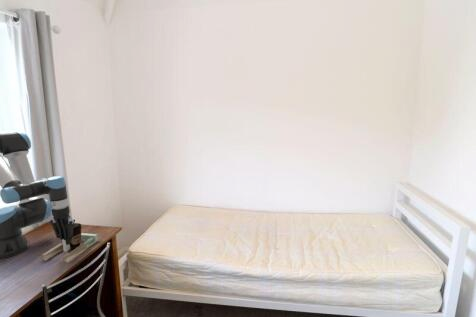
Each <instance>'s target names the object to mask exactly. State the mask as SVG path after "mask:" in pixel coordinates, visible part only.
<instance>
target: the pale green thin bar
mask: <svg viewBox="0 0 476 317" xmlns="http://www.w3.org/2000/svg"><path fill="white" fill-rule="evenodd" d="M62 251H64V249H63V245H62V242H60V243H59V244H57V245H56V246H54V247H52V248H50V249H49V250H47V251H46V252H44V253H42V254H41V258H42V259H41V260H42V261H44V262H47V261H48V260H49V259H51V258H53V257H54V256H56V255H57V254H58V253H60V252H62Z"/></svg>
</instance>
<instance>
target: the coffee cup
mask: <svg viewBox="0 0 476 317" xmlns="http://www.w3.org/2000/svg"><path fill="white" fill-rule="evenodd" d="M81 225H82V224H81V223H78V222H74V229H73V236H72V237H71V238H70V249H69V250H68V251H69V252H71V251H73V250H74V249H76V248H77V247H78V246H80V245H81V244H82V241H81V233H82V228H83V227H82V226H81ZM68 251H67V252H68Z"/></svg>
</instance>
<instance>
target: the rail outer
mask: <svg viewBox="0 0 476 317" xmlns="http://www.w3.org/2000/svg"><path fill="white" fill-rule="evenodd" d="M95 243H96V242H95V237H91V238H90V239H89V240H87V241H86V242H83V243H80V246H78V247H77V248H76V249H74V250H73V251H69V252H68V253H67V254H66V255H63V262H64V263H70V262H71V261H73V260H74V259H76V257H78V256H79V255H81V254H82V253H84V251H86V250H87V249H89V248H90V247H92V246H93V245H94V244H95Z"/></svg>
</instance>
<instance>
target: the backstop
mask: <svg viewBox="0 0 476 317" xmlns="http://www.w3.org/2000/svg"><path fill="white" fill-rule="evenodd" d="M91 237H95V243H97V242H98V241H99V240H98V239H99V238H98V234H97V233H86V232H85V233H84V232H81V243H82V242H83V243H84V242H86V241H87V240H89V239H90V238H91Z"/></svg>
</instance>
